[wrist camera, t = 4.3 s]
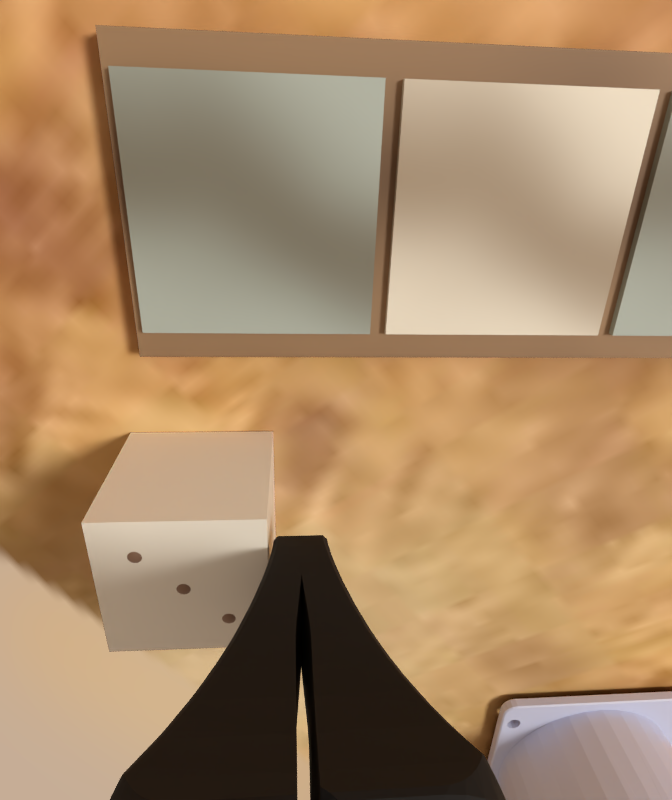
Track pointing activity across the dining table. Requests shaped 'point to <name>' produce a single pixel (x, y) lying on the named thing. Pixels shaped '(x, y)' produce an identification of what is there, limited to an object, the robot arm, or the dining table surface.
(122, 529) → the die
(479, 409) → the dining table surface
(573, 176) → the track
